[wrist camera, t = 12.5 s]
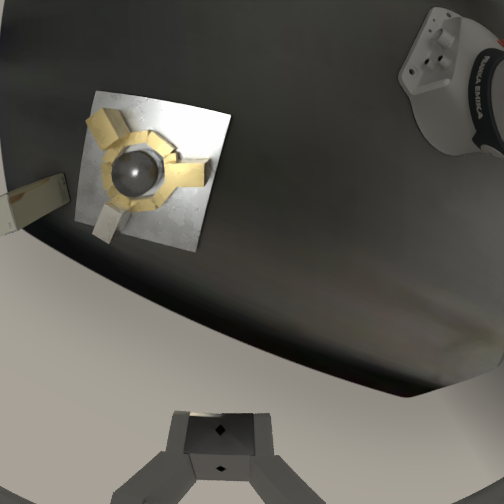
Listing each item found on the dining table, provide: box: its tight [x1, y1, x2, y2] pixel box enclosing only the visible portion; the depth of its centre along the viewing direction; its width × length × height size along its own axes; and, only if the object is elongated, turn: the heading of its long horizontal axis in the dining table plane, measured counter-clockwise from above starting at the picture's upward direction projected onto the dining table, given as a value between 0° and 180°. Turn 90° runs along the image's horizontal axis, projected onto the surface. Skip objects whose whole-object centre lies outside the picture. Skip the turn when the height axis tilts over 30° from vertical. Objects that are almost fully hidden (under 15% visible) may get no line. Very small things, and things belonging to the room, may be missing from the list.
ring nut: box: [86, 108, 209, 244], centre depth 32 cm, size 14×15×4 cm
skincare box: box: [0, 173, 70, 236], centre depth 31 cm, size 6×4×12 cm
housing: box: [75, 91, 231, 252], centre depth 33 cm, size 17×17×5 cm
